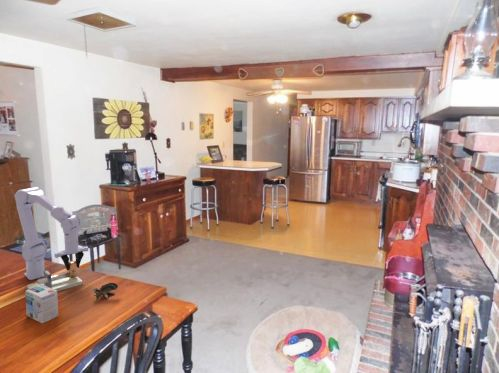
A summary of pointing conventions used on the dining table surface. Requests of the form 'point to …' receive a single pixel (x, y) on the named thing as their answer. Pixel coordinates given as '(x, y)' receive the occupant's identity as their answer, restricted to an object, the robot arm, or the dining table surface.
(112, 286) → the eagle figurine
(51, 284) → the eye stand
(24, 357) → the dining table surface
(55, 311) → the light bulb box
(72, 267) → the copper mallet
